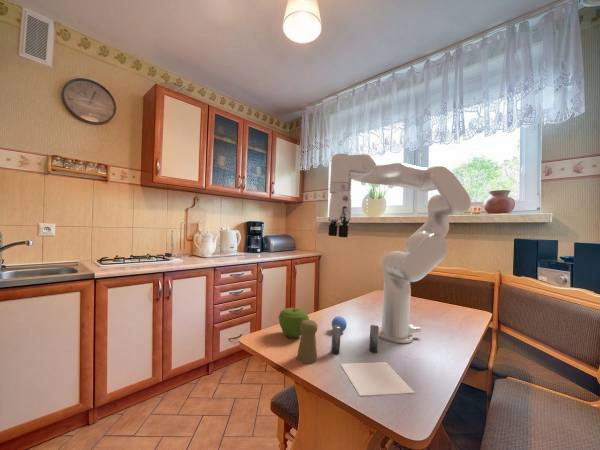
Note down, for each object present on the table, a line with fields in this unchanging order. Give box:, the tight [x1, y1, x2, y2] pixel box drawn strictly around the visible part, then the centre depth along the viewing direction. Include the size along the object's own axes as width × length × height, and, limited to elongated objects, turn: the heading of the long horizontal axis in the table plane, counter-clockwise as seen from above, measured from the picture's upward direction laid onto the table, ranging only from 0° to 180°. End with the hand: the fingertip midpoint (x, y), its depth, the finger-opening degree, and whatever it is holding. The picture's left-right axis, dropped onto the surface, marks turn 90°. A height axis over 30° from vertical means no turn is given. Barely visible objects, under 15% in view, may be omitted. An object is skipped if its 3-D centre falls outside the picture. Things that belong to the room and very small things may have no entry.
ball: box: [331, 316, 348, 333], centre depth 98 cm, size 6×6×6 cm
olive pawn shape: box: [296, 319, 318, 365], centre depth 77 cm, size 6×6×11 cm
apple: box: [278, 307, 310, 339], centre depth 92 cm, size 11×10×10 cm
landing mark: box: [340, 361, 415, 397], centre depth 69 cm, size 14×14×1 cm
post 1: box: [330, 325, 342, 355], centre depth 81 cm, size 3×3×8 cm
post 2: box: [368, 324, 380, 354], centre depth 83 cm, size 3×3×8 cm
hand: (337, 236), depth 93 cm, fingers open, 9 cm apart
